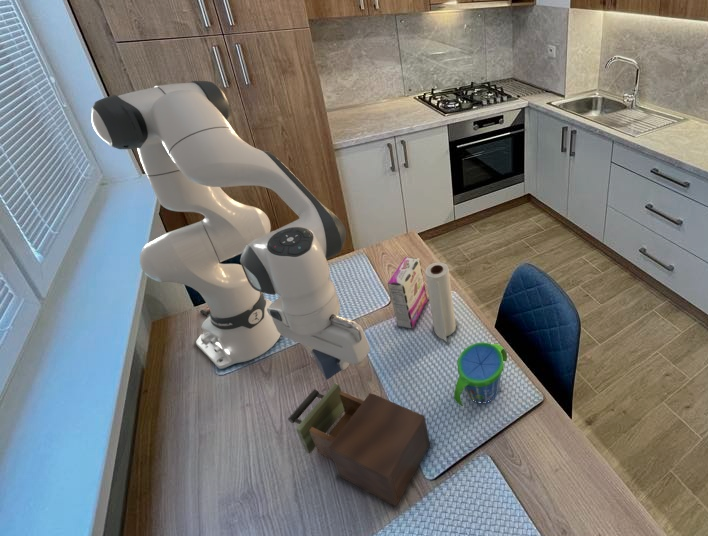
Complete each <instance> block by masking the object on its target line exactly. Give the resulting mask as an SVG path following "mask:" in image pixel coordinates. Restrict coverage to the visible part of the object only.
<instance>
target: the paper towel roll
mask: <svg viewBox="0 0 708 536" xmlns="http://www.w3.org/2000/svg"><path fill="white" fill-rule="evenodd" d="M424 274H425V280H426V281H425V282H426V286H427V293H428V300H429V305H430V312H431V319H432V323H433V324H432V326H433V330H434V331H433V332H434V333H435V334H436V336H437V337H438V338H439V339H441V340H443V341H444V342H446V343H448V338H447V337H449V336H450V335H451V336H452V334H453V333H454V332H455V331H456V329H457V325H456V324H457V323H456V317H455V310H454V309H455V308H454V301H453V293H452V285H451V284H452V283H451V277H450V270H449V266H448V265H447V263H445V262H441V261H437V262H433V263H430V264H429V265H428V266H426V268H425V270H424Z"/></svg>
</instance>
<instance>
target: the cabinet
mask: <svg viewBox="0 0 708 536" xmlns="http://www.w3.org/2000/svg"><path fill="white" fill-rule="evenodd" d="M430 446H431V442H430V436H429V433H428V427H427V422H426V416H425V415H423V414H421V413H419V412H416V411H414V410H412V409H409V408H407V407H404V406H402V405H400V404H398V403H395V402H393V401H391V400H388V399H386V398H384V397H382V396H379V395H377V394H375V393H373V392H369V394H368V395H367V396H366V397H365V399H363V403H362V404H361V405H360V407H359V408H358V409H357V411H356V412H355V413H354V415H353V416H352V417H351V419H350V420H349V421H348V422H347V424H346V425H345V426H344V428H343V429H342V430H341V432H340V433H339V434H338V436H337V437H336V438H335V440H334V441H333V442H332V444H331V445H330V446H329V450H330V452H331V455H332V458H333V460H332V461H333V462H334V465H335V468H336V470H337V473H338V476H339V477H340V478H342V479H344V480H346V481H347V482H349V483H351V484H353V485H355V486H356V487H358V488H360V489H362V490H364V491H366V492H368V493H369V494H371V495H373V496H375V497H377V498H378V499H380V500H382V501H384V502H386V503H388V504H390V505H391V506H394V507H395V508H396V507H397V506H398V504H399V502H400V500H401V499H402V496H403V495H404V493H405V491H406V490H407V488H408V486H409V484H410V482H411V480H412V479H413V477H414V475H415V473H416V471H417V469H418V468H419V466H420V464H421V462H422V461H423V458H424V456H425V455H426V453H427V451H428V450H429V448H430Z"/></svg>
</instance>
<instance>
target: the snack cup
mask: <svg viewBox="0 0 708 536" xmlns="http://www.w3.org/2000/svg"><path fill="white" fill-rule="evenodd" d="M507 361H508V354H507V350H506V348H504V347H503V346H502V345H500V344H499V343H493V344H492V343H489V342H476V343H473V344H470V345H469V346H467V347H466V348H464V349H463V350H462V352H461V353H460V355H459V357H458V358H457V372H458V379H457V380H456V383H455V387H454V392H453V400H454V401H455V402H456V403H457V404H458V405H459V406H460V407H464V404H463V402H462V399H461V395H462V393H463V391H464V389H465V390H466V393H467V396H468V397H469V399H470V400H471V401H472V402H474V403H476V404H482V405H483V404H484V403H483V402H486V403H485V404H490V402H491V401H494V400H495V398H496V396H497V395H498V394H499V389H500V385H501V378H502V373H503V371H504V368H505V364H504V362H507ZM473 400H474V401H473ZM490 400H491V401H490ZM475 401H476V402H475ZM488 401H489V402H488ZM478 402H481V403H478Z"/></svg>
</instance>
